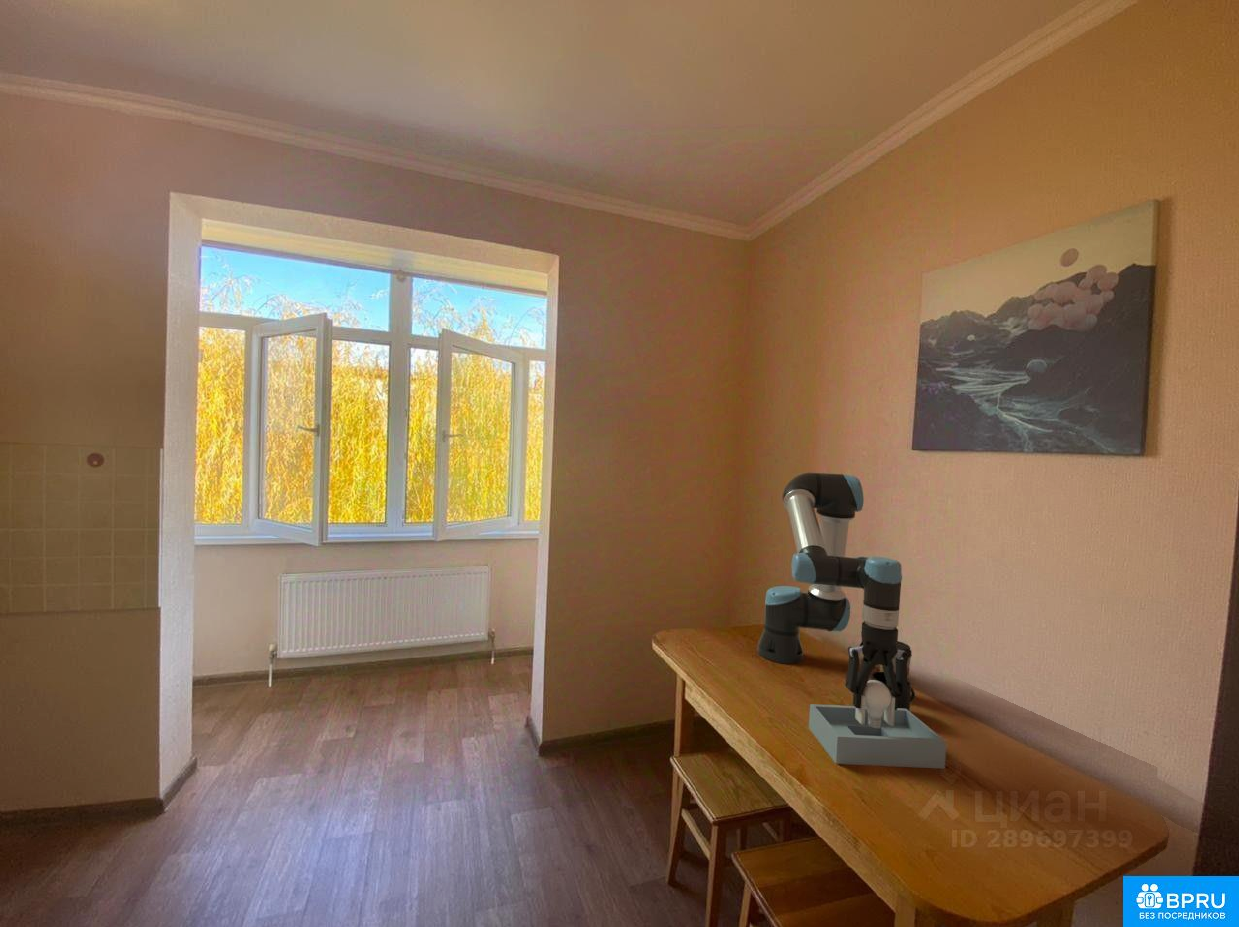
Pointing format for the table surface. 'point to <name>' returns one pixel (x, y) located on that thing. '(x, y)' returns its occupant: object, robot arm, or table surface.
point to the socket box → (876, 738)
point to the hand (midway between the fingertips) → (874, 721)
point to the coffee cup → (899, 646)
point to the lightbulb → (876, 701)
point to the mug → (905, 699)
